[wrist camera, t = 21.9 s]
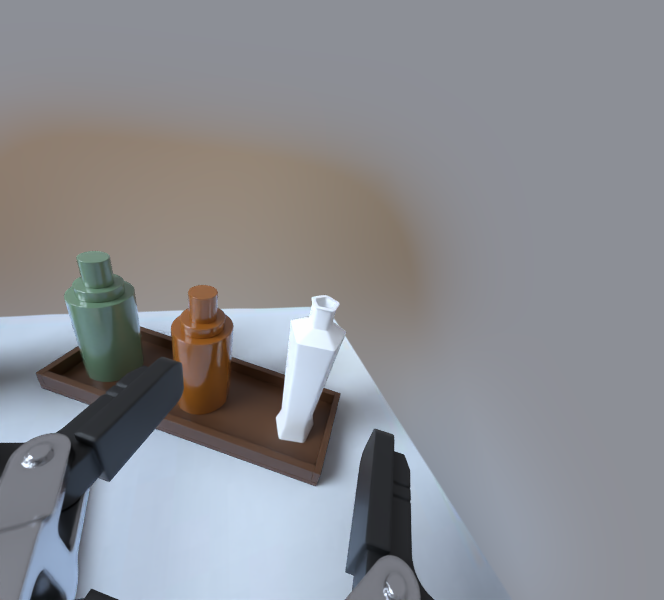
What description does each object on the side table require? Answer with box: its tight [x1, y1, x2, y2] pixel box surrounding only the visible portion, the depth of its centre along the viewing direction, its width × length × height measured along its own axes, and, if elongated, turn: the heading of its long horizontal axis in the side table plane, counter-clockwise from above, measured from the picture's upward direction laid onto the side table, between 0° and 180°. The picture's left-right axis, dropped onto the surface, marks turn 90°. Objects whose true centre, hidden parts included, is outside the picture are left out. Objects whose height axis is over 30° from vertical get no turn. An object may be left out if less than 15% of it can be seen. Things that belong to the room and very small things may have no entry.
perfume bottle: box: [276, 295, 346, 443], centre depth 25 cm, size 5×4×15 cm
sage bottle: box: [64, 251, 144, 382], centre depth 28 cm, size 5×5×12 cm
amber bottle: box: [171, 285, 233, 415], centre depth 27 cm, size 5×5×12 cm
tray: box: [36, 327, 340, 486], centre depth 30 cm, size 27×9×2 cm, turn 78°
